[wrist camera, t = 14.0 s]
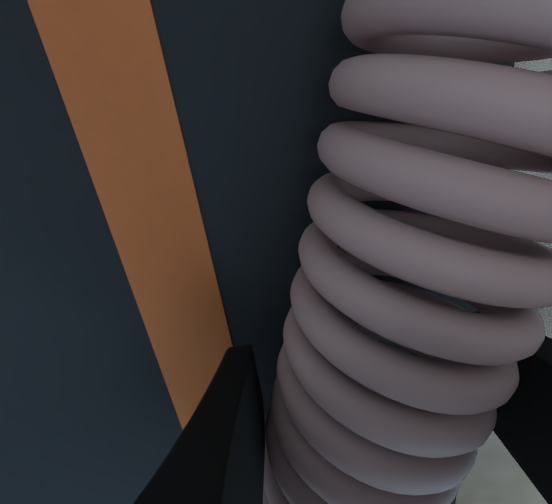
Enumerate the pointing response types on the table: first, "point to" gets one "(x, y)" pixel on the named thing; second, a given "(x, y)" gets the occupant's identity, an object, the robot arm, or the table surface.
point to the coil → (417, 255)
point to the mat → (149, 220)
